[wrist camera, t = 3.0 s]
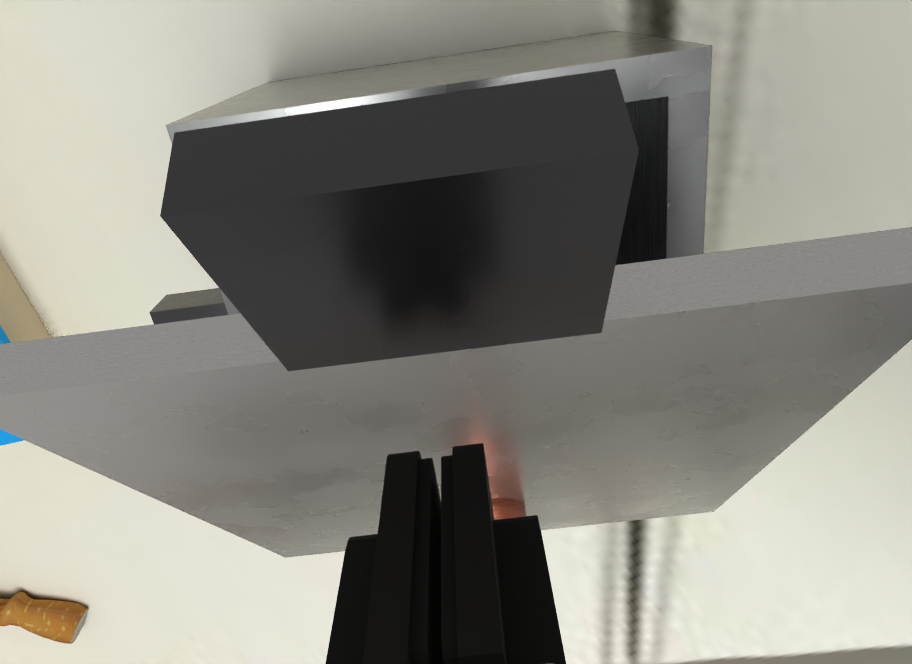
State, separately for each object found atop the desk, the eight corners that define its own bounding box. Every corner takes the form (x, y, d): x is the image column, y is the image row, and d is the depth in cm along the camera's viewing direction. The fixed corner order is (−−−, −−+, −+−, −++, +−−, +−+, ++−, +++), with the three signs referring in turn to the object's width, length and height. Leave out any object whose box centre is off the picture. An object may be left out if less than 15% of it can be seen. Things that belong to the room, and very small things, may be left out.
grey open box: (614, 30, 29) (711, 46, 18) (621, 342, 36) (693, 484, 25) (193, 93, 30) (50, 142, 19) (281, 383, 37) (212, 536, 26)
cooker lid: (1179, -13, 7) (1403, 212, 5) (706, 485, 25) (728, 566, 24) (-306, 202, 8) (-453, 444, 6) (286, 531, 26) (283, 612, 25)
